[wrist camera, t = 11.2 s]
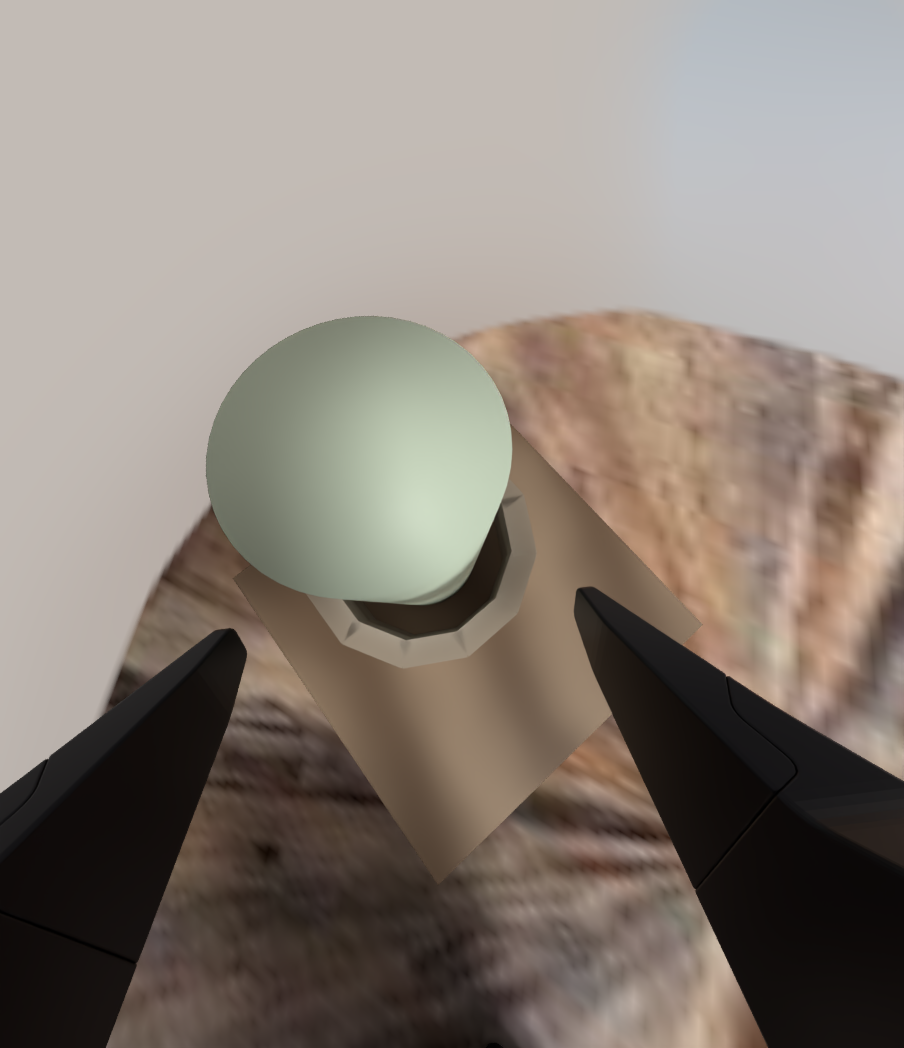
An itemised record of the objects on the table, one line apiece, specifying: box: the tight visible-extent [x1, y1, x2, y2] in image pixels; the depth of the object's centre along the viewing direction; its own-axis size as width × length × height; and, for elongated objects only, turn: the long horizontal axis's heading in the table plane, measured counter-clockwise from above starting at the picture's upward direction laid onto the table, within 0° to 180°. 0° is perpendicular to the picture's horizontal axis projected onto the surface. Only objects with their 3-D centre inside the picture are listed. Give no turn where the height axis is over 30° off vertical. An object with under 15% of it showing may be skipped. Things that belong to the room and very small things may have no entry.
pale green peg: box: [206, 316, 512, 605], centre depth 12 cm, size 5×5×12 cm
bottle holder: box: [233, 424, 703, 885], centre depth 16 cm, size 16×16×4 cm
